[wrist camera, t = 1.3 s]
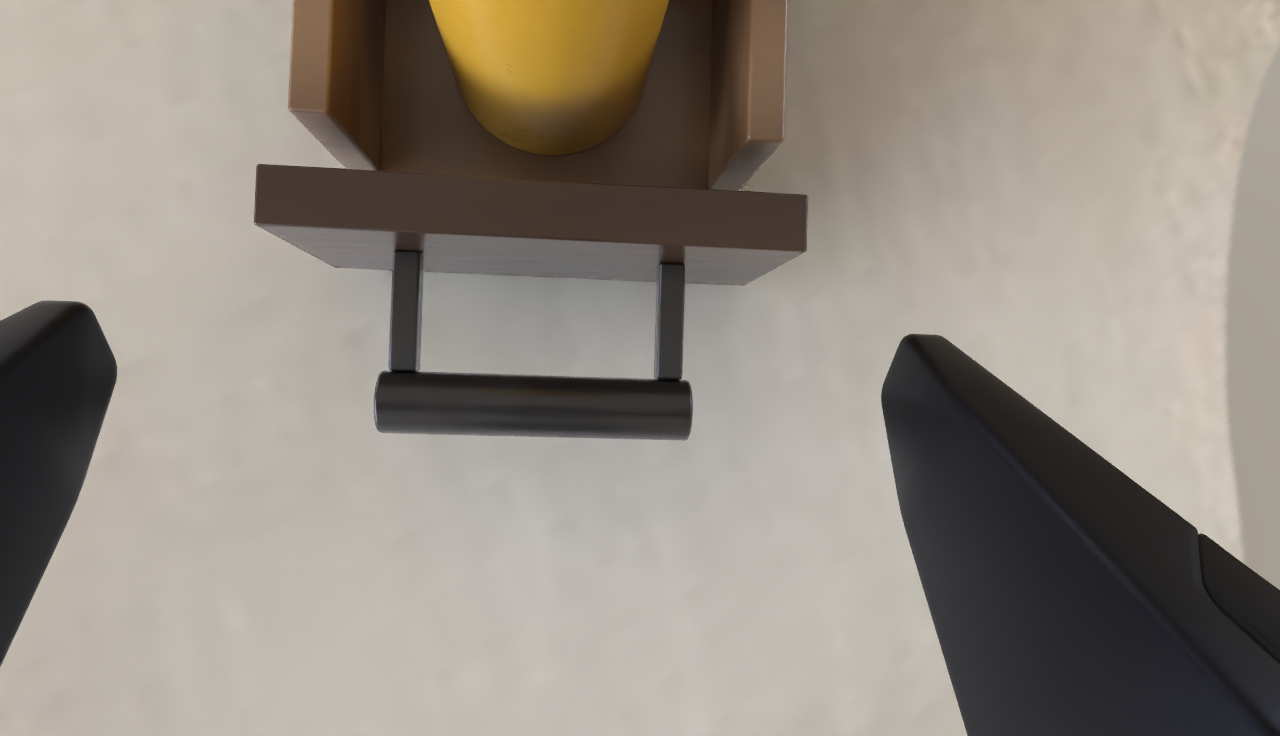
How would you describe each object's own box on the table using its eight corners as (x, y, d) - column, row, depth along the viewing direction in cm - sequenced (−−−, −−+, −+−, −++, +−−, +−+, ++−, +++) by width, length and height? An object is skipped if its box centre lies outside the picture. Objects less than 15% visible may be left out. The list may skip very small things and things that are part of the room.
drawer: (741, 434, 22) (802, 450, 16) (327, 423, 21) (243, 437, 15) (756, -152, 22) (822, -329, 17) (352, -192, 21) (280, -396, 16)
